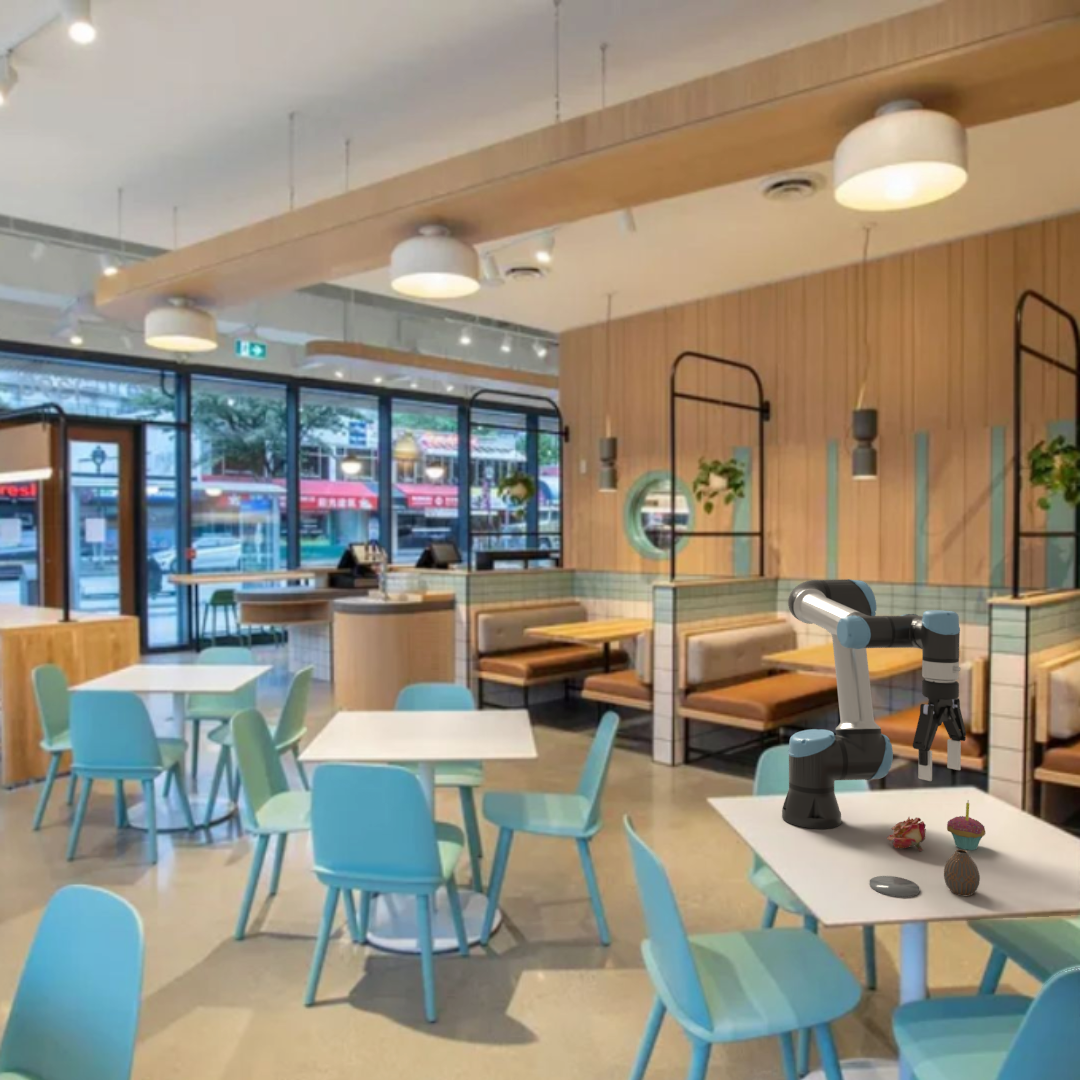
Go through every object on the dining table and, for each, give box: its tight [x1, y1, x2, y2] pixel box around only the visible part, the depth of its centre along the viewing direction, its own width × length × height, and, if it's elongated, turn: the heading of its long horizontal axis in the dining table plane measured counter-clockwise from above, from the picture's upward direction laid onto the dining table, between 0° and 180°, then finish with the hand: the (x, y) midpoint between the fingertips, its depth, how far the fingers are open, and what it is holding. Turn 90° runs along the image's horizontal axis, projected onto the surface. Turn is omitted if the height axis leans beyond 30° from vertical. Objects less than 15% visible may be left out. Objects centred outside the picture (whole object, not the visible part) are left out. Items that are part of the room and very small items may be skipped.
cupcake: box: [946, 800, 986, 851], centre depth 215 cm, size 9×8×12 cm
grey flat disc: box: [869, 875, 920, 898], centre depth 190 cm, size 10×10×1 cm
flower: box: [886, 816, 927, 852], centre depth 213 cm, size 10×9×8 cm
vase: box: [943, 848, 981, 897], centre depth 188 cm, size 7×7×9 cm
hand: (939, 774), depth 198 cm, fingers open, 13 cm apart
